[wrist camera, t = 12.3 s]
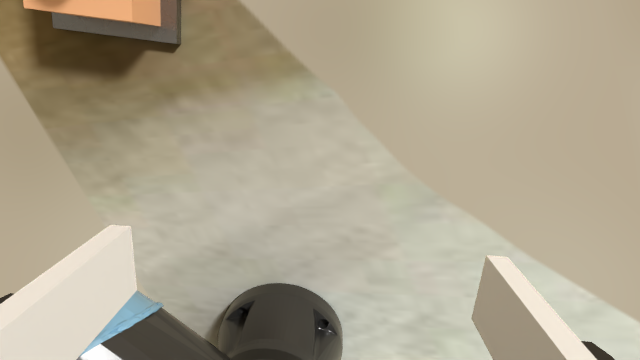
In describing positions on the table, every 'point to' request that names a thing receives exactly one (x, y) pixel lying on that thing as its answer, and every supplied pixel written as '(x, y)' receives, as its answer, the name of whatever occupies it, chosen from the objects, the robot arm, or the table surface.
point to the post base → (128, 25)
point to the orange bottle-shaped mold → (104, 9)
